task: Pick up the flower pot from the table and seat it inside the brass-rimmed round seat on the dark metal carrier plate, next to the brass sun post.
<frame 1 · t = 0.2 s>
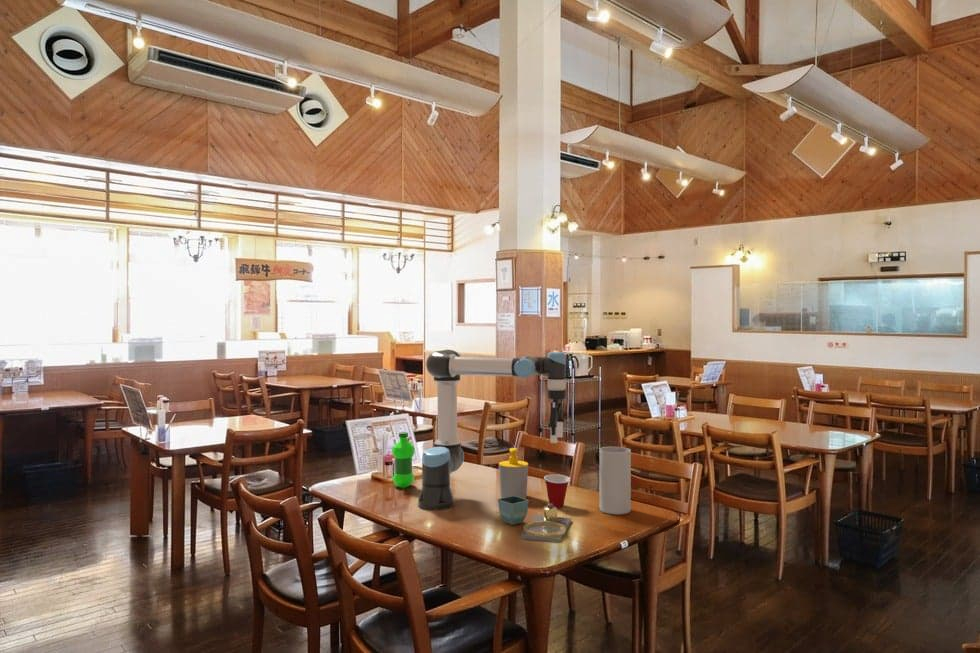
hand: (556, 440, 269), 28 cm above the table, fingers open, 13 cm apart
plastic cup: (556, 506, 269), on the table
soap bottle: (513, 497, 284), on the table
cylinder vase: (614, 511, 263), on the table
flower pot: (513, 523, 247), on the table
plastic bottle: (403, 486, 302), on the table
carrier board: (546, 529, 239), on the table
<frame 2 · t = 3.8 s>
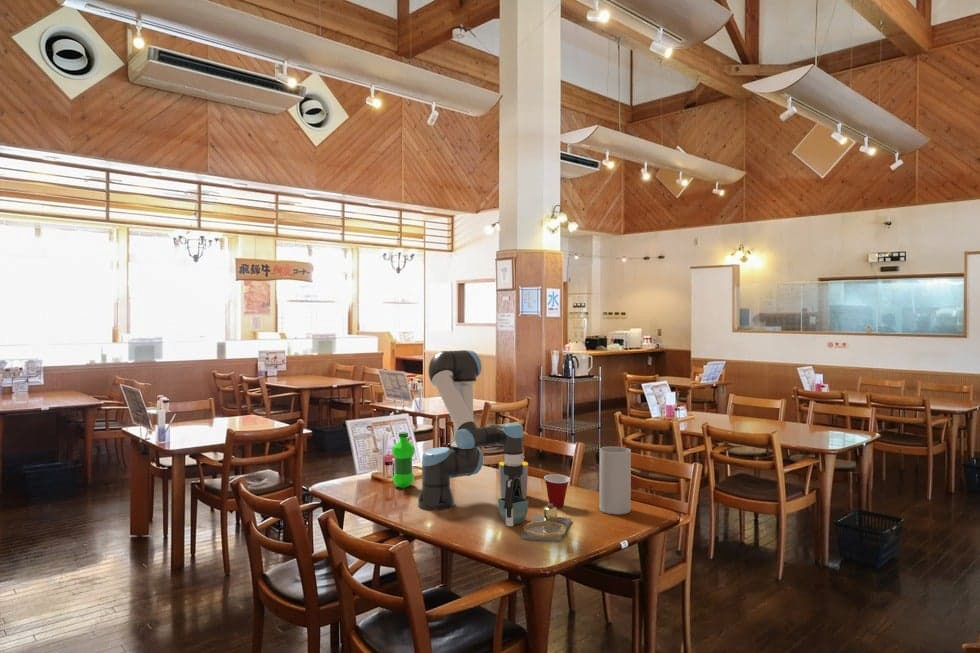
hand: (513, 521, 247), 1 cm above the table, fingers closed on flower pot, 11 cm apart
flower pot: (513, 523, 247), on the table, touching gripper
everything else where it was.
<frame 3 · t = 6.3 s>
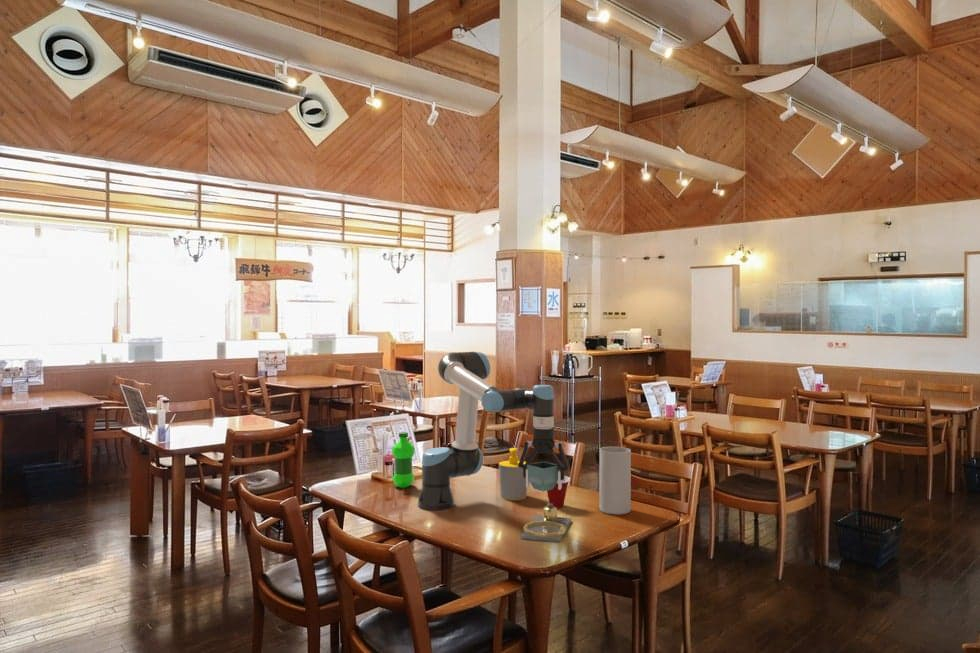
hand: (543, 487, 234), 17 cm above the table, fingers closed on flower pot, 11 cm apart
flower pot: (543, 489, 234), point 16 cm above the table, touching gripper
everything else where it was.
when the fingers open (5 cm above the table, at t = 8.7 s): flower pot moves 1 cm, point 3 cm above the table.
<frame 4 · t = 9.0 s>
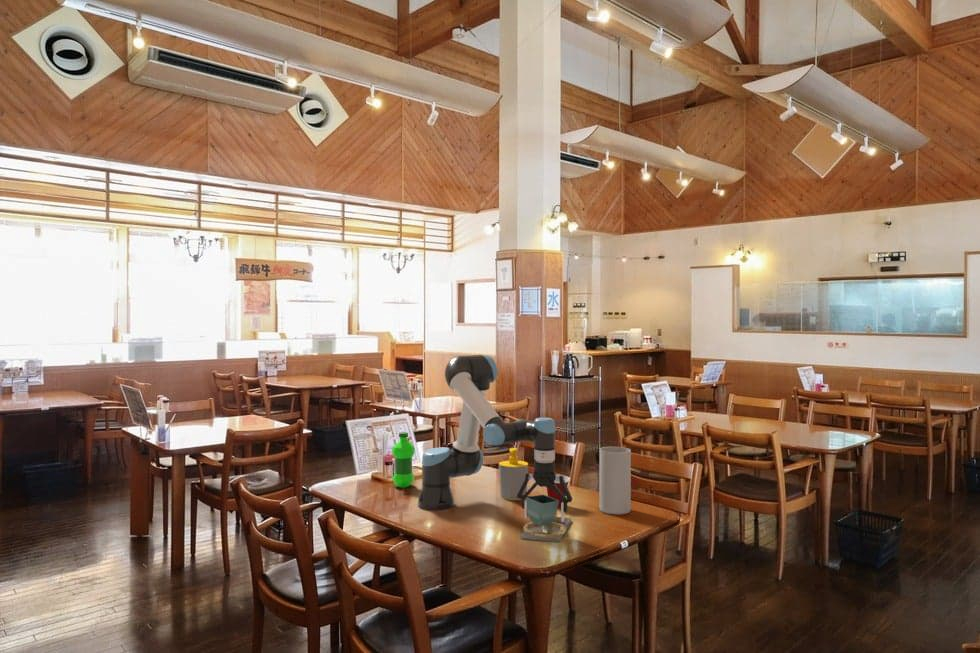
hand: (544, 519, 234), 5 cm above the table, fingers open, 13 cm apart
flower pot: (540, 523, 235), point 3 cm above the table, touching gripper
everything else where it was.
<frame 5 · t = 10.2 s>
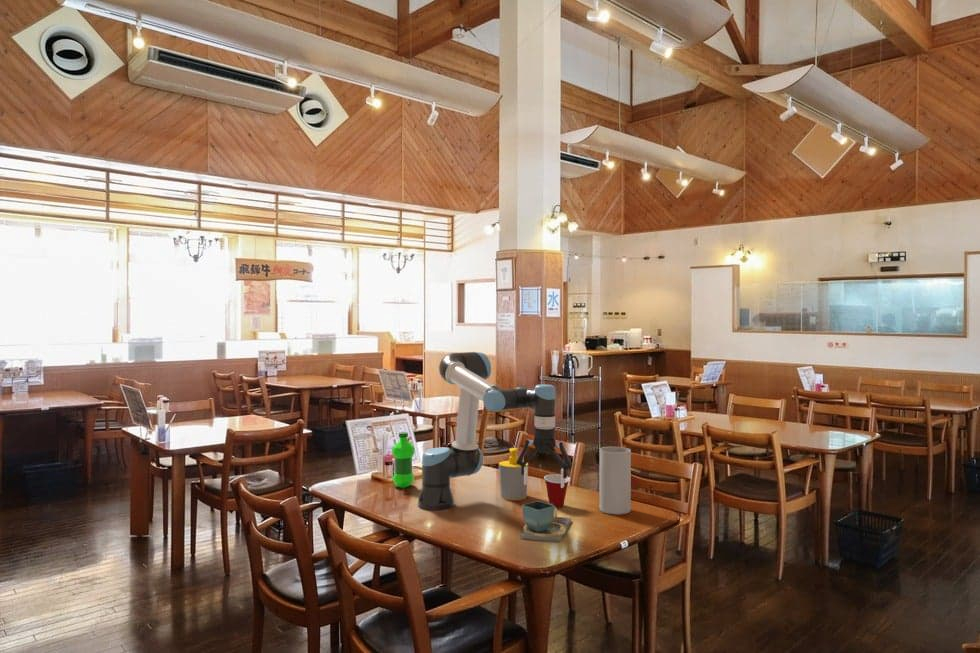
hand: (543, 485, 234), 17 cm above the table, fingers open, 13 cm apart
flower pot: (538, 530, 235), point 1 cm above the table, touching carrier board
everything else where it was.
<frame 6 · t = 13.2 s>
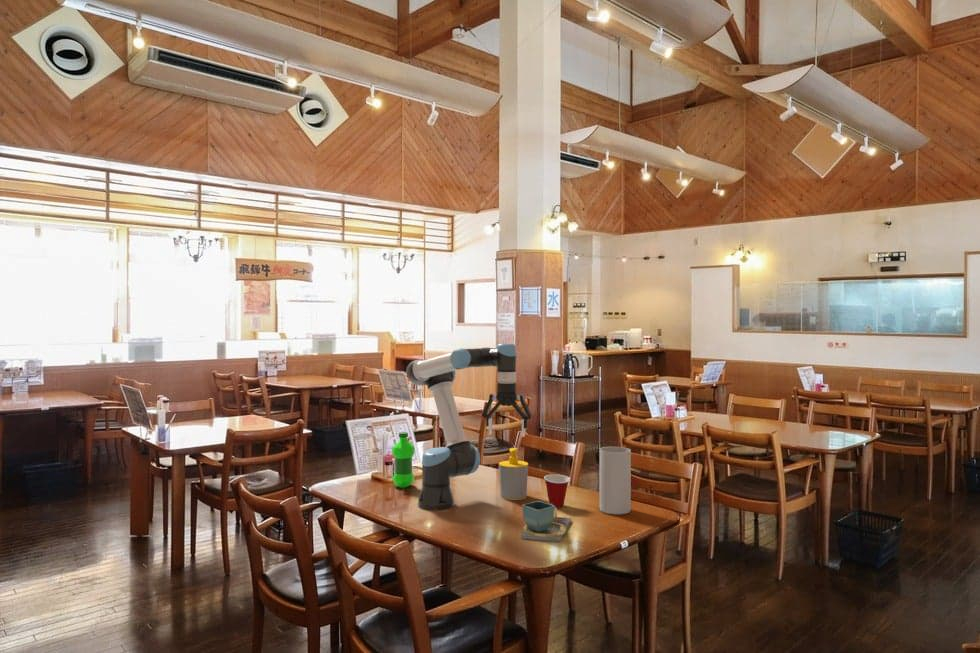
hand: (506, 435, 257), 32 cm above the table, fingers open, 13 cm apart
nothing on the table moved.
at the end: flower pot 2.3 cm from the target spot on the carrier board, point 1.0 cm above the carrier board's base; flower pot tilted 0°; the gripper is holding nothing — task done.
